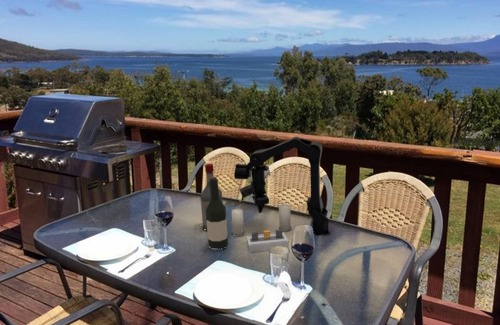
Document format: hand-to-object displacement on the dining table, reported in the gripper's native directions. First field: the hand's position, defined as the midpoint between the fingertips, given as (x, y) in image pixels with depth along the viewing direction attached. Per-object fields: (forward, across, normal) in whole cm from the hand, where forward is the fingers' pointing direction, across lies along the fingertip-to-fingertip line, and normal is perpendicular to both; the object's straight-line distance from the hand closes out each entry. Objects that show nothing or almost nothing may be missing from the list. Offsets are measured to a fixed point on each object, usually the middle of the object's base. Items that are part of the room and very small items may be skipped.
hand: (260, 212), depth 190 cm
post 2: (+8, +4, +10) cm, 14 cm away
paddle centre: (+4, +18, 0) cm, 19 cm away
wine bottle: (+8, +14, -20) cm, 26 cm away
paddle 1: (+4, +18, -5) cm, 20 cm away
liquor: (+8, -6, -21) cm, 23 cm away
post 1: (+7, +4, -11) cm, 14 cm away
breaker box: (+7, +18, 0) cm, 20 cm away
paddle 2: (+4, +18, +5) cm, 19 cm away
